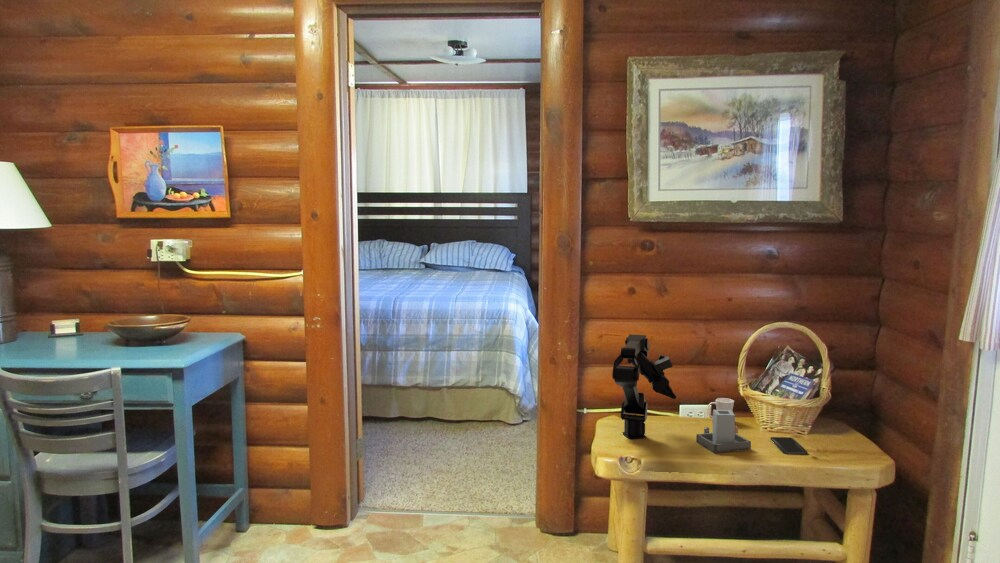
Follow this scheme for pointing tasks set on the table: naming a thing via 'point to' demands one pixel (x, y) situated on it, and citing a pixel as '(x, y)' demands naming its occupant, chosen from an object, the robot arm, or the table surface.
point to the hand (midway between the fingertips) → (673, 394)
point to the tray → (737, 445)
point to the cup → (722, 404)
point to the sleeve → (724, 426)
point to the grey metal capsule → (706, 430)
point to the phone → (789, 445)
